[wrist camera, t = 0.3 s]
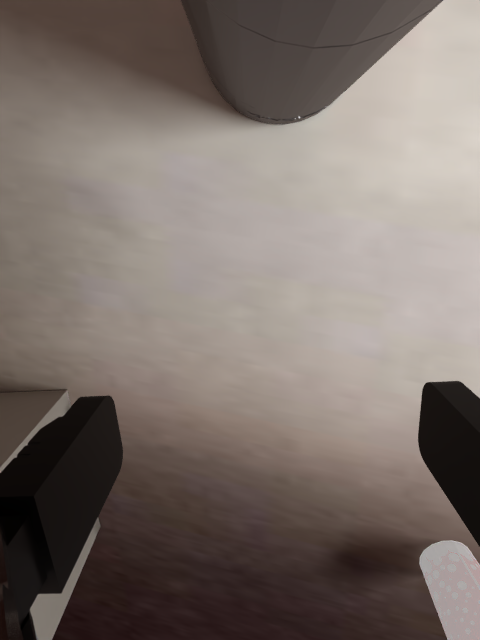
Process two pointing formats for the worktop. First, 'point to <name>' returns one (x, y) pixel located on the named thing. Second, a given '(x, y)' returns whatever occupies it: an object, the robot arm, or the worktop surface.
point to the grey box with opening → (3, 446)
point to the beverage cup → (454, 588)
